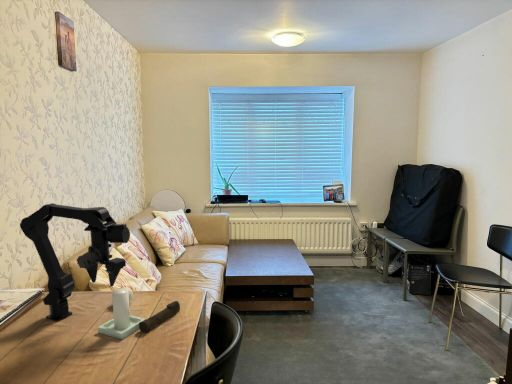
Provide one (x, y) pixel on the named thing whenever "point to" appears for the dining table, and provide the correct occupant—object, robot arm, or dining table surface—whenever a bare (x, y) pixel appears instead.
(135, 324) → the tray
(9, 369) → the dining table surface
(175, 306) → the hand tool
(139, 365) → the dining table surface
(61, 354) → the dining table surface
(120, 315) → the white rounded tapered cylinder
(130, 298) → the white ball
